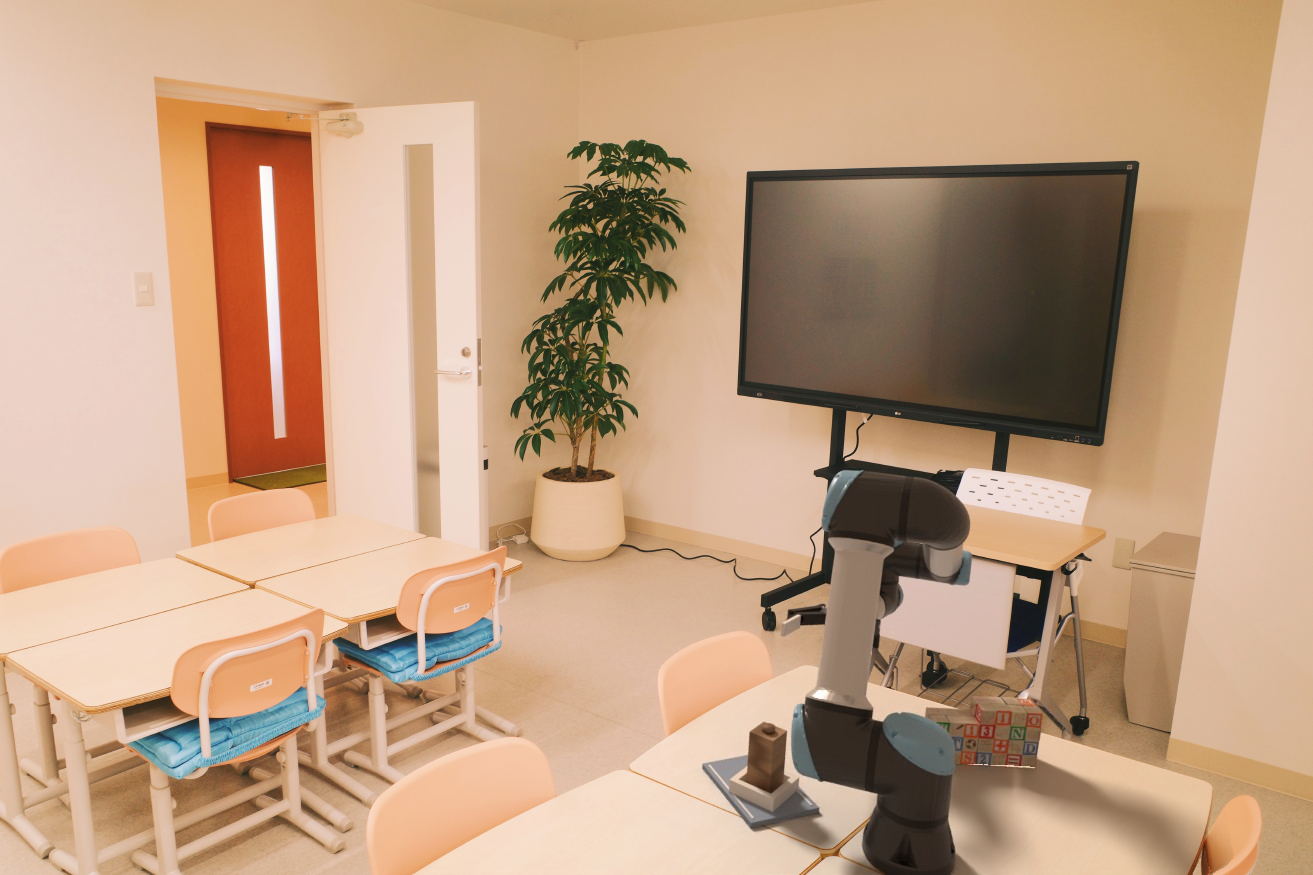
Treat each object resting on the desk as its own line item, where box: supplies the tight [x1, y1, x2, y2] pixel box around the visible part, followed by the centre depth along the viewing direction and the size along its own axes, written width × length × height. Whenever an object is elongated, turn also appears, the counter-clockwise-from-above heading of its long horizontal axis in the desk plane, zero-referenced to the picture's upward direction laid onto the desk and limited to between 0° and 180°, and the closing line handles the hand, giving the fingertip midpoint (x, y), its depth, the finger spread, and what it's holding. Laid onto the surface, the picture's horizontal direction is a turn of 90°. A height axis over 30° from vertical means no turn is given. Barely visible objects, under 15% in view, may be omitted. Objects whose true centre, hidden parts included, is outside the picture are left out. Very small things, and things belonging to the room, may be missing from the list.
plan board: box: [701, 754, 820, 829], centre depth 167 cm, size 20×14×1 cm
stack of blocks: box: [924, 695, 1044, 767], centre depth 180 cm, size 21×6×12 cm, turn 89°
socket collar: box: [729, 766, 800, 812], centre depth 164 cm, size 9×9×2 cm
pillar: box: [746, 721, 788, 794], centre depth 163 cm, size 5×5×13 cm
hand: (813, 639), depth 172 cm, fingers open, 13 cm apart
